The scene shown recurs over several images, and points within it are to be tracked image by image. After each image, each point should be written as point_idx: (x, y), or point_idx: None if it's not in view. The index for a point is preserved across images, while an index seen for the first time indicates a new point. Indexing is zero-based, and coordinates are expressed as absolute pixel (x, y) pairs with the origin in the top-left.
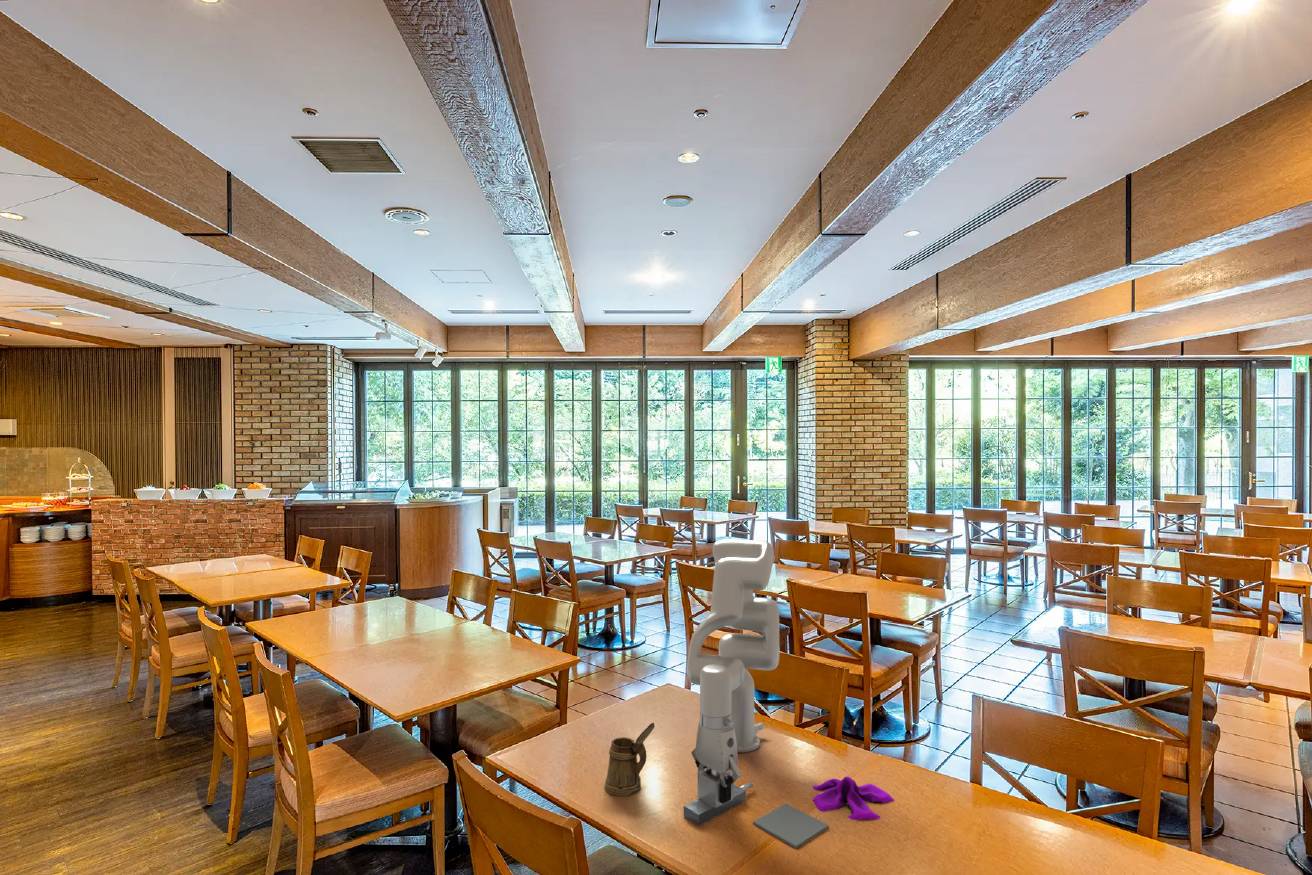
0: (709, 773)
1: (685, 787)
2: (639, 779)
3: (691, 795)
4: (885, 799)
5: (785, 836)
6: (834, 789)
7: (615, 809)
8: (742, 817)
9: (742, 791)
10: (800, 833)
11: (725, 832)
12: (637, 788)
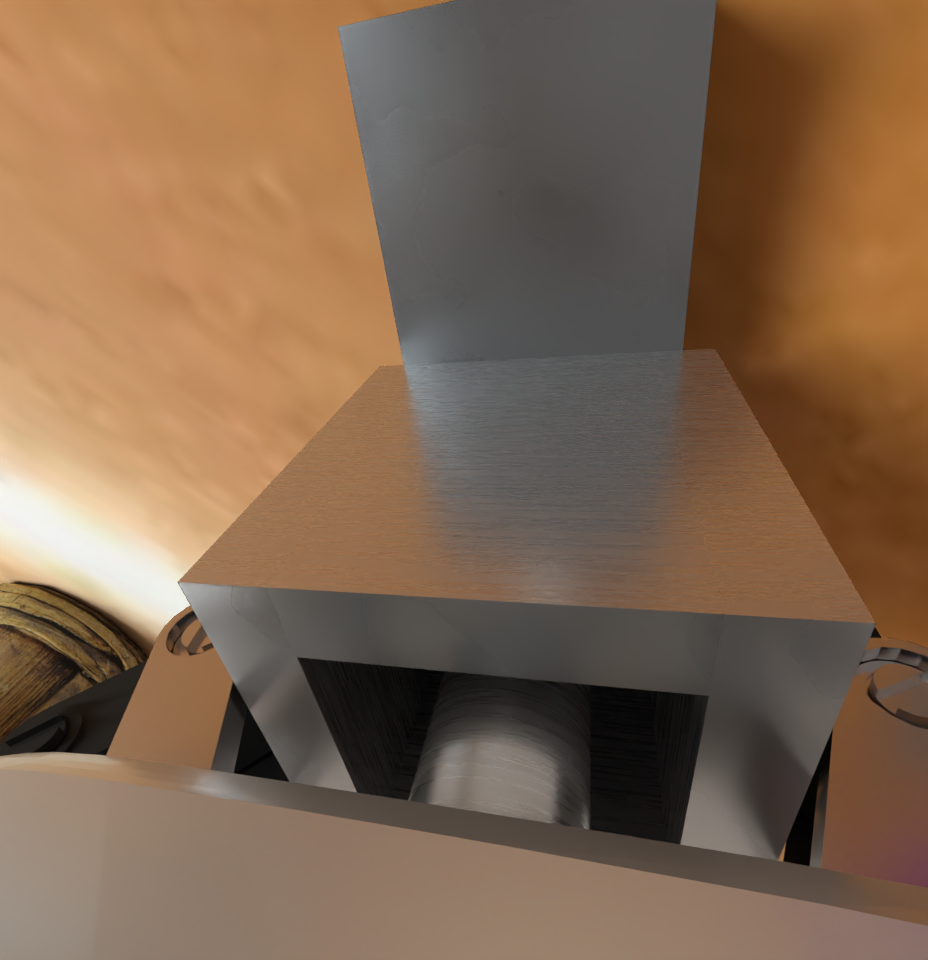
0: (373, 695)
1: (144, 407)
2: (50, 646)
3: (273, 449)
4: None
5: None
6: None
7: None
8: (883, 334)
9: (682, 30)
10: None
11: (868, 605)
12: (125, 659)
